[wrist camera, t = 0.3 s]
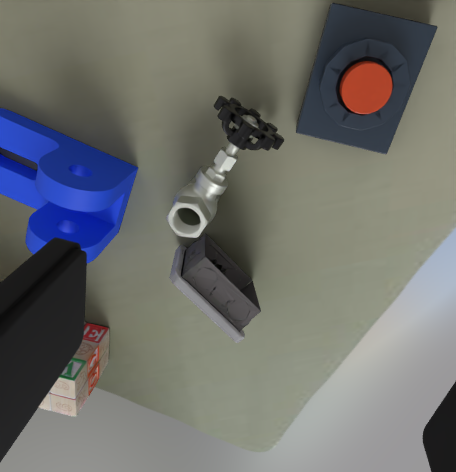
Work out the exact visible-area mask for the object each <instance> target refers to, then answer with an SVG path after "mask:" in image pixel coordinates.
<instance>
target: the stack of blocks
mask: <svg viewBox="0 0 456 472" xmlns="http://www.w3.org/2000/svg"><path fill="white" fill-rule="evenodd" d="M108 358H109V328H107V327H103V326H98V325H94V324H90V323H86V322H85V321H84V336H83V340H82V343H81V345H80V347H79V349H78V351H77V352H76V353H75V355H74V356H73V358H72V359H71V361H70V362H69V364H68V365H67V366H66V368H65V369H64V371H63V372H62V374H61V375H60V377H59V378H58V379H57V381H56V382H55V384H54V385H53V387H52V388H51V390H50V391H49V393H48V394H47V395H46V397H45V398H44V400H43V401H42V403H41V404H40V406H39V407H38V408H42V409H45V410H49V411H54V412H58V413H62V414H66V415H70V416H73V417H76V416H77V415H78V413H79V411H80V410H81V408H82V406H83V405H84V403H85V401H86V399H87V398H88V396H89V395H90V393H91V392H92V390H93V388H94V387H95V385H96V383H97V381H98V379H99V377H100V376H101V374H102V372H103V370H104V369H105V367H106V365H107V363H108Z"/></svg>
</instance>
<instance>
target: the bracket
mask: <svg viewBox="0 0 456 472" xmlns="http://www.w3.org/2000/svg"><path fill="white" fill-rule="evenodd" d="M0 147H1V148H3V149H6V150H8V151H10V152H13V153H15V154H17V155H19V156H22V157H24V158H26V159H29V160H31V161H33V162H35V163H36V164H37V165H38V170H37V171H36V170H34V169H31V168H29V167H27V166H25V165H22V164H20V163H18V162H15V161H13V160H11V159H9V158H6V157H4V156H3V155H1V154H0V194H3V195H5V196H7V197H10V198H12V199H14V200H17V201H19V202H21V203H23V204H26V205H28V206H30V207H33V208H35V209H37V211H36V212H34V213H33V214H32V215H31V216H30V218H29V222H28V228H27V234H26V245H27V247H28V249H29V250H30V251H31V252H32V253H33V254H35V253H36V252H37V251H39V250H40V249H41V248H42V247H43V246H44V245H46V244H47V243H48V242H49V241H50V240H51V239H53V238H61V239H64V240H68V241H72V242H76V243H79V244H80V246H81V250H83V251H85V252H86V254H87V263H89V262H91V261H93V260H94V259H95V258H96V257H97V256H98V255H99V254H100V253H101V252H102V251H103V249H104V248H105V247H106V246H107V245H108V244H109V243H110V241H111V240H112V239H113V238H114V237H115V236H116V235H117V233H118V232H119V229H120V225H121V222H122V219H123V215H124V212H125V209H126V206H127V202H128V199H129V196H130V193H131V189H132V186H133V183H134V179H135V176H136V173H137V170H138V167H136V166H133V165H131V164H129V163H127V162H124V161H122V160H120V159H118V158H115V157H113V156H111V155H109V154H106V153H104V152H102V151H100V150H97V149H95V148H93V147H91V146H88V145H86V144H84V143H82V142H79V141H77V140H75V139H73V138H70V137H68V136H66V135H64V134H61V133H59V132H57V131H54V130H52V129H50V128H48V127H45V126H43V125H41V124H39V123H36V122H34V121H32V120H30V119H27V118H25V117H23V116H21V115H18V114H16V113H14V112H12V111H9V110H6V109H3V108H0Z"/></svg>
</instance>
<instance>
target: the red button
mask: <svg viewBox="0 0 456 472" xmlns="http://www.w3.org/2000/svg"><path fill="white" fill-rule="evenodd" d="M392 87H393V83H392V78H391V75H390V73H389V72H388V71H387V69H386V68H384V67H383V66H381V65H379V64H377V63H375V62H372V61H363V62H359V63H356V64H355V65H353V66H351V67H350V68H349V69H348V70H347V71H346V72H345V74H344V75H343V77H342V80H341V83H340V95H341V98H342V100H343V102H344V103H345V105H346V106H347V107H348V108H349V109H350V110H351V111H353V112H355V113H358V114H370V113H373V112H375V111H377V110H379V109H380V108H382V107H383V106H384V105H385V104H386V102H387V101H388V100H389V98H390V96H391V93H392Z"/></svg>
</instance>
